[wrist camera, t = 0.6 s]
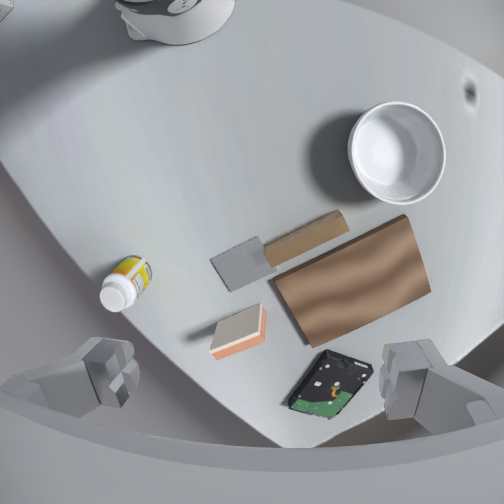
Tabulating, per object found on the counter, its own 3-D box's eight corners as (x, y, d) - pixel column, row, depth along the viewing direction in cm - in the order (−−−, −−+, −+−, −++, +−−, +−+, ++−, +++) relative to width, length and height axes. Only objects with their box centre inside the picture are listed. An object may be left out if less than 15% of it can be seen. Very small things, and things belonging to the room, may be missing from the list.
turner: (332, 198, 45) (337, 203, 42) (349, 234, 47) (354, 241, 43) (211, 258, 49) (207, 267, 46) (231, 290, 51) (228, 300, 48)
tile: (217, 321, 53) (209, 350, 46) (260, 302, 52) (257, 331, 44) (224, 330, 54) (216, 360, 46) (266, 312, 52) (264, 341, 45)
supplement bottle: (117, 269, 51) (88, 297, 42) (134, 247, 50) (106, 273, 40) (141, 291, 52) (116, 324, 43) (160, 270, 51) (136, 301, 41)
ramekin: (321, 158, 43) (329, 162, 37) (372, 86, 39) (388, 79, 32) (391, 212, 45) (408, 225, 38) (439, 144, 41) (462, 147, 34)
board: (274, 277, 50) (274, 281, 48) (403, 214, 45) (407, 216, 43) (311, 342, 54) (312, 348, 52) (427, 287, 49) (431, 291, 47)
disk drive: (324, 346, 55) (287, 400, 60) (326, 355, 52) (287, 410, 57) (371, 361, 55) (331, 412, 60) (375, 371, 53) (333, 421, 58)
